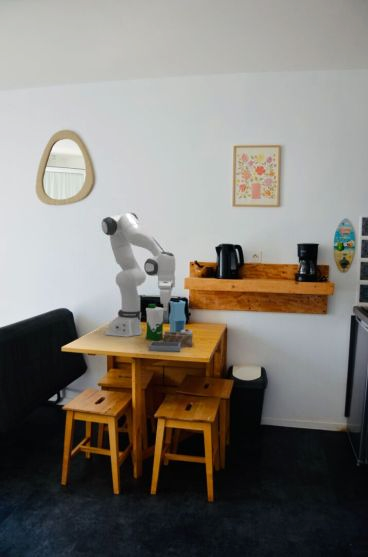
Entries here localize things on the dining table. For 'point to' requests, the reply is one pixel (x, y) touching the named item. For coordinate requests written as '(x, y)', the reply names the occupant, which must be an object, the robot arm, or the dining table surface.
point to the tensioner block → (179, 337)
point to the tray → (165, 346)
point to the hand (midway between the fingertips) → (165, 309)
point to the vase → (177, 316)
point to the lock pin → (166, 314)
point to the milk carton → (154, 322)
